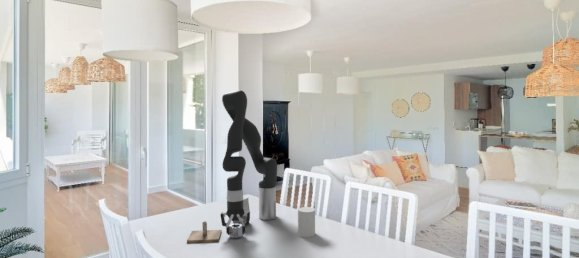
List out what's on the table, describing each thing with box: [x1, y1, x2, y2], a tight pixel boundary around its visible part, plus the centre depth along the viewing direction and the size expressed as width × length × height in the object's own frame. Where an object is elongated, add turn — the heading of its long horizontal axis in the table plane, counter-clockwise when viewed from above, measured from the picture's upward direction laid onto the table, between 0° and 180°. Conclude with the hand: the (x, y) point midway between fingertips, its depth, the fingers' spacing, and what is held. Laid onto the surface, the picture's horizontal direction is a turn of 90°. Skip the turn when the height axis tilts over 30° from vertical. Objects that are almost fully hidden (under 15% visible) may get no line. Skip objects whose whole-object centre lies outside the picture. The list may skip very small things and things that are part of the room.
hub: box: [228, 223, 243, 239], centre depth 157 cm, size 6×6×4 cm
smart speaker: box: [232, 197, 251, 224], centre depth 175 cm, size 10×9×14 cm
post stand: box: [186, 220, 222, 244], centre depth 157 cm, size 14×12×8 cm
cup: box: [297, 206, 316, 238], centre depth 160 cm, size 8×8×12 cm
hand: (235, 233), depth 158 cm, fingers closed on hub, 6 cm apart
